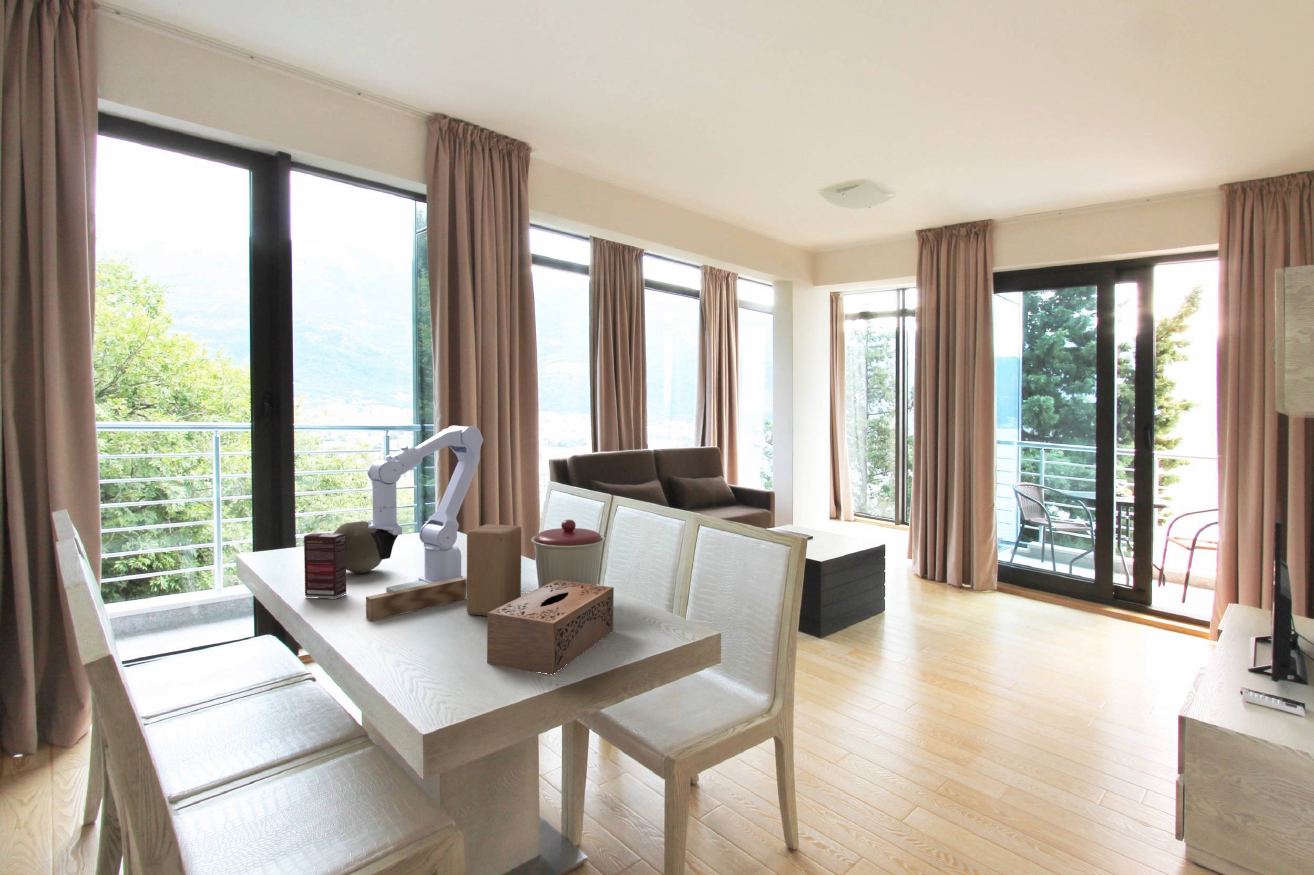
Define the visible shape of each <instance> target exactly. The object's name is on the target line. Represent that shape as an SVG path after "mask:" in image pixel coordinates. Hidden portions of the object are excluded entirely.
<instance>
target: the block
mask: <svg viewBox="0 0 1314 875" xmlns="http://www.w3.org/2000/svg"><path fill="white" fill-rule="evenodd" d="M426 584H430V583H427V582H425V581H422V580H420V579H419V580H416V581H411V582H406V583H400V584H395V585H391V586H387V587H385V593H387V592H392V591H397V590H402V589H407V588H412V587H417V586H422V585H426Z"/></svg>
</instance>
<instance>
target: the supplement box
mask: <svg viewBox="0 0 1314 875" xmlns="http://www.w3.org/2000/svg"><path fill="white" fill-rule="evenodd" d="M303 539H304V540H303V550H304V554H303V556H304V597H305V596H306V597H318V598H331V599H330V600H338V599H340V598H342V597H343V596H342V595H344V594H346V595H347V570H346V534H338V533H334V532H333V533H332V532H331V533H330V532H312V533H309V534H306V535H303ZM341 596H342V597H341ZM344 596H345V595H344ZM339 597H340V598H339ZM332 598H333V599H332ZM337 598H338V599H337Z"/></svg>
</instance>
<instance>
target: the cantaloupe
mask: <svg viewBox="0 0 1314 875" xmlns="http://www.w3.org/2000/svg"><path fill="white" fill-rule="evenodd" d="M376 530H377V529H376V528H368V521H364V520H363V521H362V520H361V521H354V522H345V523H344V524H342V525H340V526H339V527H338V528H336V529H335V531H334V532H333V533H338V534H346V571H348V572H352V573H355V574H365V573H368V572H370V571H372V570H373V569H375V568H377V567H378V566H379V565H380V564H381V562H382V561H383V559H380V557H379V553H378V549H377V546H376V543H375V541H374V539H373V537H372V536H371V532H376Z"/></svg>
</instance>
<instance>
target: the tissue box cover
mask: <svg viewBox="0 0 1314 875" xmlns="http://www.w3.org/2000/svg"><path fill="white" fill-rule="evenodd" d="M614 589H615V588H614V586H606V585H600V584H599V585H598V584H597V585H592V584H585V583H577V582H569V581H562V580H555V581H553V582H551V583H549V584H546V585H544V586H542V587H540V588H539V587H538V588H537V589H534V590H532V591H530V592H527V593H526V594H524V595H521V597H519V598H517V599H515V600H513V601H511V602H509V603H507V604H505V605H503V606H501V607H498V608H496V609H494V610H492V611H490V612H488V613H487V616H486V617H487V620H486V624H487V625H486V626H487V627H486V628H487V631H486V664H490V665H495V666H501V667H507V668H510V667H511V669H514V670H515V669H516V670H522V671H526V670H527V671H526V672H531V671H534V672H533V673H536V672H541V673H547V674H552V675H553V674H554V673H556V672H557V671H558V670H560V669H561V668H562V667H564V666H565V665H566V664H568V663H569V662H570V661H572V660H573V661H575V660H576V659H577V658H578V657H577V656H579V655H580V654H581V655H583V654H584V653H585V652H587V651H588V650H589V649H591V648H592V647H594V646H595V645H596V644H598V643H599V642H600V641H601V640H603V639H604V638H606V637H607V636H608V635H609V634H611V633H612V632H614V601H615V600H614V596H615V595H614V594H615V593H614V592H615V590H614ZM610 632H611V633H610ZM607 634H608V635H607ZM606 635H607V636H606ZM602 638H603V639H602ZM599 640H600V641H599ZM598 641H599V642H598ZM595 643H596V644H595ZM594 644H595V645H594ZM586 650H587V651H586ZM583 652H584V653H583ZM582 653H583V654H582ZM581 655H580V656H581ZM580 656H579V657H580ZM576 657H577V658H576ZM575 658H576V659H575ZM574 659H575V660H574ZM573 661H572V662H573ZM569 664H570V663H569ZM569 664H568V665H569ZM565 667H566V666H565ZM565 667H564V668H565ZM561 670H562V669H561ZM561 670H560V671H561ZM558 672H559V671H558ZM558 672H557V673H558ZM541 673H540V674H541ZM557 673H556V674H557ZM554 675H555V674H554ZM554 675H553V676H554Z"/></svg>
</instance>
